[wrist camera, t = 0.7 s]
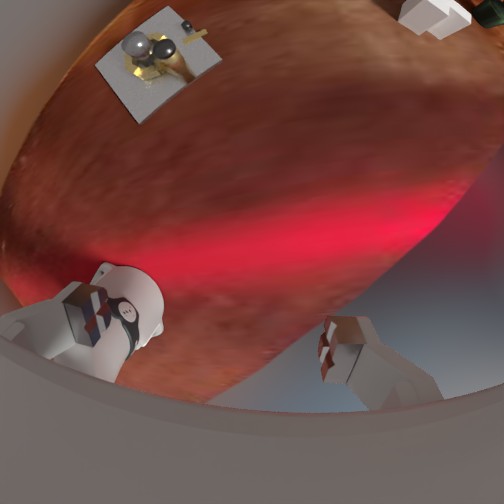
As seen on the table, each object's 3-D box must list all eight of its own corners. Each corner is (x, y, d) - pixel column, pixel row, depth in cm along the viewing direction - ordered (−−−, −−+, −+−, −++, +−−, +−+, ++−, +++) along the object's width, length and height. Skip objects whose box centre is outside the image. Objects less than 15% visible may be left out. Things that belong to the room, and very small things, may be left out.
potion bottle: (472, 2, 27) (509, -17, 10) (492, 24, 28) (531, 10, 11) (466, 12, 29) (506, -8, 12) (487, 35, 30) (529, 20, 13)
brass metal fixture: (122, 69, 37) (83, 46, 25) (149, 33, 35) (119, 1, 22) (179, 100, 40) (151, 78, 27) (209, 61, 38) (192, 27, 25)
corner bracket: (397, 21, 34) (424, -2, 22) (405, -7, 31) (429, -30, 19) (438, 49, 35) (470, 33, 23) (443, 19, 32) (471, 2, 20)
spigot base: (141, 124, 42) (115, 117, 33) (97, 66, 38) (70, 52, 29) (230, 56, 39) (223, 32, 29) (176, 4, 34) (161, -22, 25)
